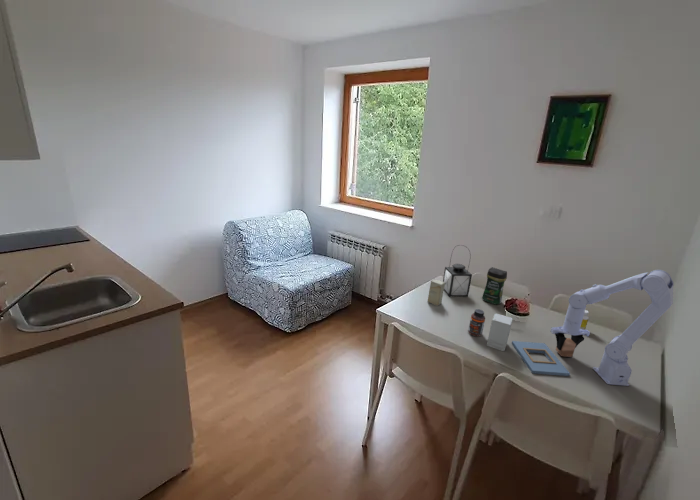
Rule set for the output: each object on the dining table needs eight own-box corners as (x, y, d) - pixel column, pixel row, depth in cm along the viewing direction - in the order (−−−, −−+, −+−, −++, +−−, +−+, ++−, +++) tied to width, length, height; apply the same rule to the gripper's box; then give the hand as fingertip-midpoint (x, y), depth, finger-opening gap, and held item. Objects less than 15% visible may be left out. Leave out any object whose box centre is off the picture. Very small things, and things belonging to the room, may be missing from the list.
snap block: (572, 356, 145) (576, 344, 143) (561, 356, 145) (564, 343, 143) (566, 350, 149) (570, 338, 147) (555, 349, 149) (559, 337, 147)
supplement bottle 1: (466, 334, 158) (471, 311, 155) (469, 328, 163) (473, 306, 160) (480, 338, 156) (485, 315, 152) (482, 332, 161) (487, 310, 157)
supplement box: (504, 351, 147) (510, 325, 143) (486, 345, 150) (491, 319, 146) (507, 343, 153) (513, 317, 149) (489, 338, 156) (494, 312, 152)
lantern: (468, 296, 196) (477, 248, 187) (448, 296, 194) (457, 248, 185) (459, 288, 206) (467, 242, 197) (441, 288, 205) (448, 241, 196)
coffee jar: (479, 300, 192) (486, 268, 186) (485, 295, 198) (491, 264, 192) (497, 306, 186) (504, 273, 180) (503, 301, 192) (510, 270, 186)
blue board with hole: (569, 376, 134) (570, 372, 134) (531, 373, 134) (532, 369, 134) (544, 345, 153) (545, 342, 153) (511, 343, 153) (512, 340, 153)
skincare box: (427, 302, 187) (430, 280, 183) (431, 299, 190) (434, 278, 186) (437, 306, 183) (441, 284, 179) (442, 303, 186) (445, 282, 182)
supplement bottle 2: (586, 332, 166) (592, 314, 163) (574, 331, 167) (579, 312, 163) (582, 326, 171) (587, 308, 168) (569, 325, 172) (575, 307, 168)
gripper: (585, 316, 146) (577, 344, 150) (550, 313, 146) (542, 342, 150) (596, 325, 139) (587, 354, 143) (559, 322, 139) (550, 352, 144)
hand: (564, 349), depth 146 cm, fingers closed on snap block, 4 cm apart
